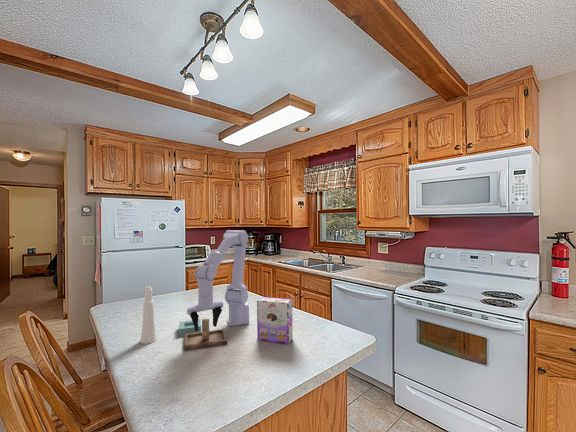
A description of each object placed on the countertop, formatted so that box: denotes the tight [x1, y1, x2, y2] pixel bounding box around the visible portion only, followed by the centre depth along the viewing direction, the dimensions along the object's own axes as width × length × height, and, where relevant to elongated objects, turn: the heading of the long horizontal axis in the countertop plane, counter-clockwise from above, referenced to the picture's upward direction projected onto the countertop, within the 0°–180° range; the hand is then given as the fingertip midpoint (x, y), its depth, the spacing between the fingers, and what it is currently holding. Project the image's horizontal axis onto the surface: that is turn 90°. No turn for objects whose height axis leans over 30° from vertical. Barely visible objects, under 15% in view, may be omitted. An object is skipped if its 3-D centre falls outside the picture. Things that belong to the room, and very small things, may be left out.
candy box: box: [256, 296, 294, 345], centre depth 117 cm, size 14×6×16 cm, turn 71°
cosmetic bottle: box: [139, 285, 157, 345], centre depth 115 cm, size 6×6×22 cm
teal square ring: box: [178, 318, 202, 337], centre depth 125 cm, size 9×9×3 cm
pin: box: [201, 317, 210, 341], centre depth 115 cm, size 3×3×8 cm
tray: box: [184, 328, 229, 351], centre depth 115 cm, size 16×12×2 cm
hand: (205, 328), depth 115 cm, fingers open, 7 cm apart
